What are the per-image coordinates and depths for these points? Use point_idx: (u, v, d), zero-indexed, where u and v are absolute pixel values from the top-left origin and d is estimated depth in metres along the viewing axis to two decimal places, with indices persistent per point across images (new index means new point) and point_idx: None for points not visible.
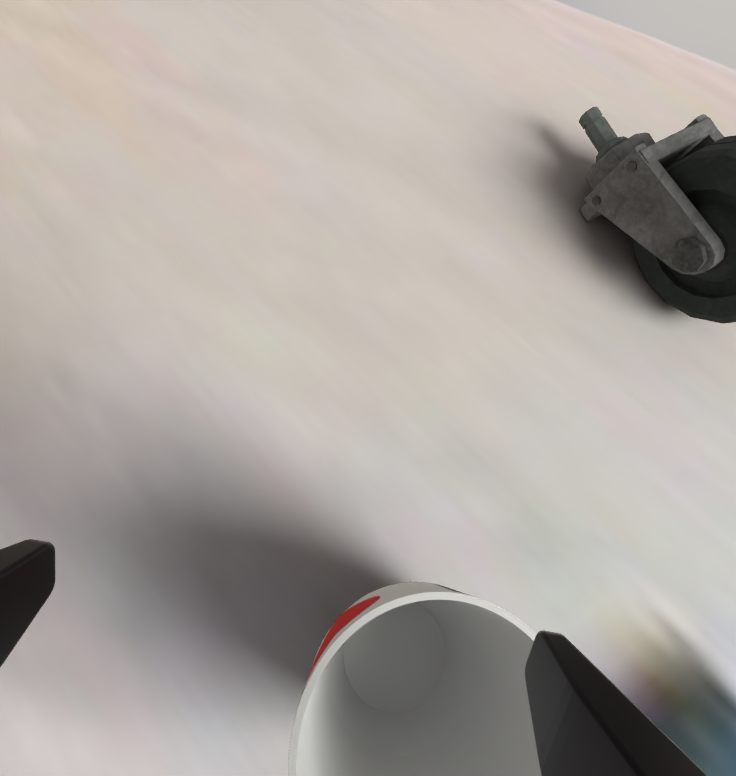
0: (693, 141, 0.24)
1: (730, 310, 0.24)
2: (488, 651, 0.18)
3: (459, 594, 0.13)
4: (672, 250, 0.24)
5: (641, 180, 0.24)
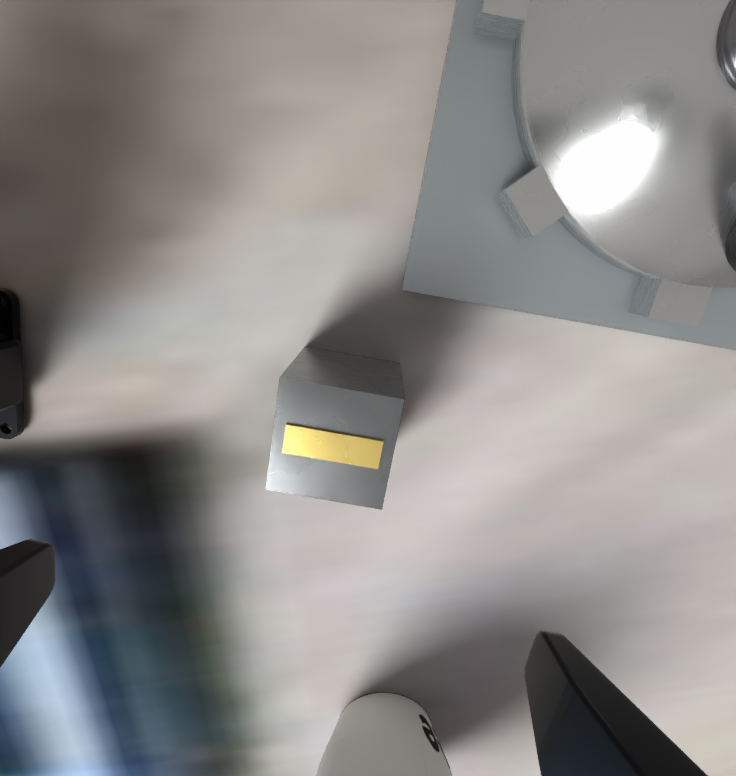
0: None
1: None
2: None
3: None
4: None
5: None
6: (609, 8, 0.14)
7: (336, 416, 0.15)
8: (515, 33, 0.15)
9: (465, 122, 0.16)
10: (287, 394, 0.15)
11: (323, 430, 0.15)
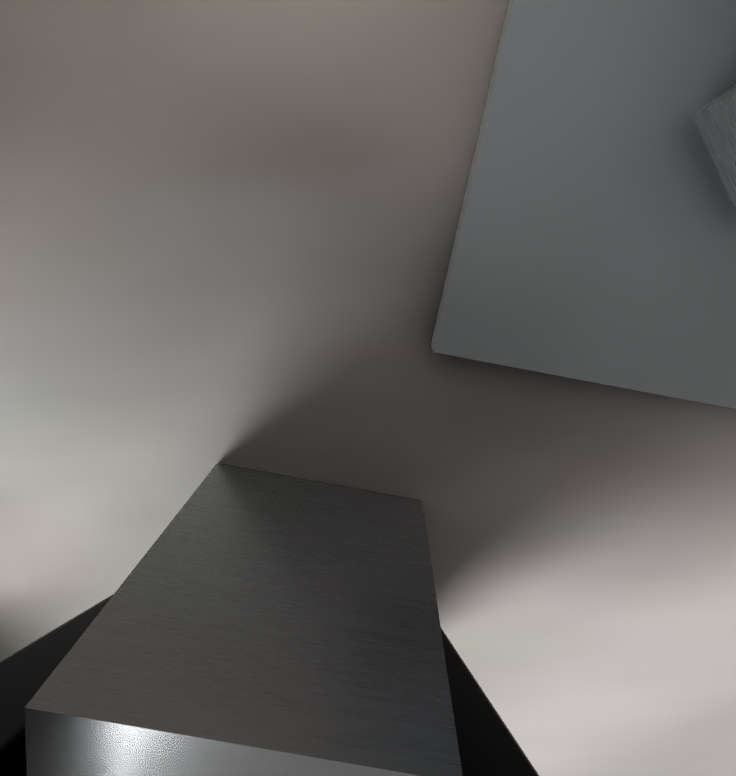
0: None
1: None
2: None
3: None
4: None
5: None
6: None
7: None
8: None
9: None
10: (59, 754, 0.04)
11: None
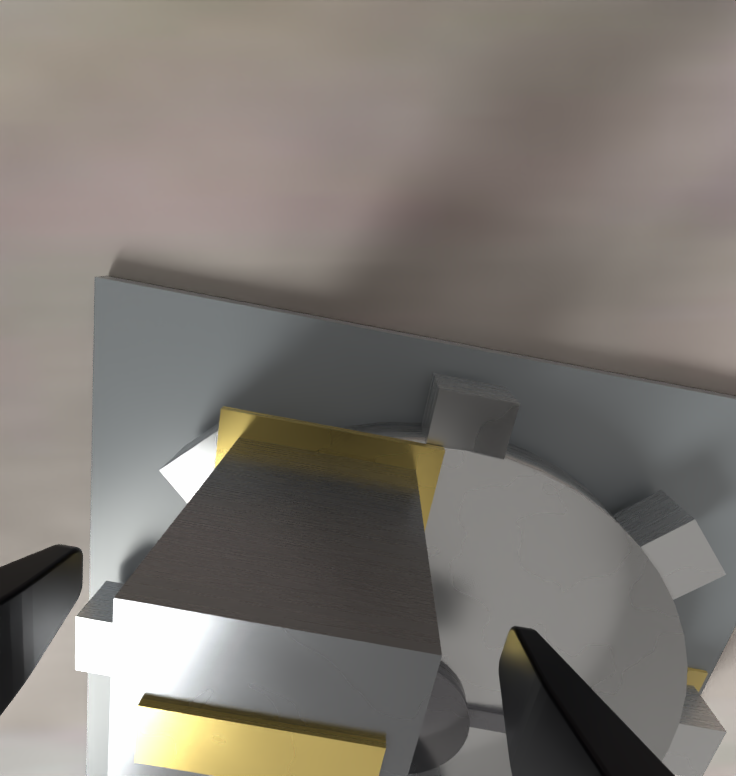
0: None
1: None
2: None
3: None
4: None
5: None
6: None
7: (267, 686, 0.06)
8: None
9: None
10: (138, 636, 0.06)
11: (235, 717, 0.06)
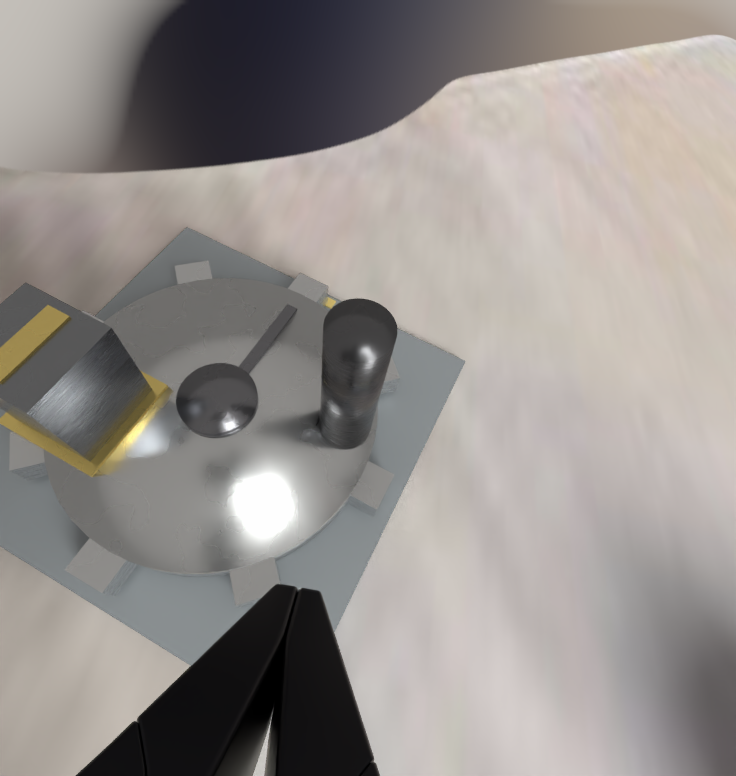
0: None
1: None
2: None
3: None
4: None
5: None
6: (151, 500, 0.20)
7: (2, 331, 0.17)
8: (132, 565, 0.19)
9: (175, 618, 0.19)
10: None
11: (6, 344, 0.17)
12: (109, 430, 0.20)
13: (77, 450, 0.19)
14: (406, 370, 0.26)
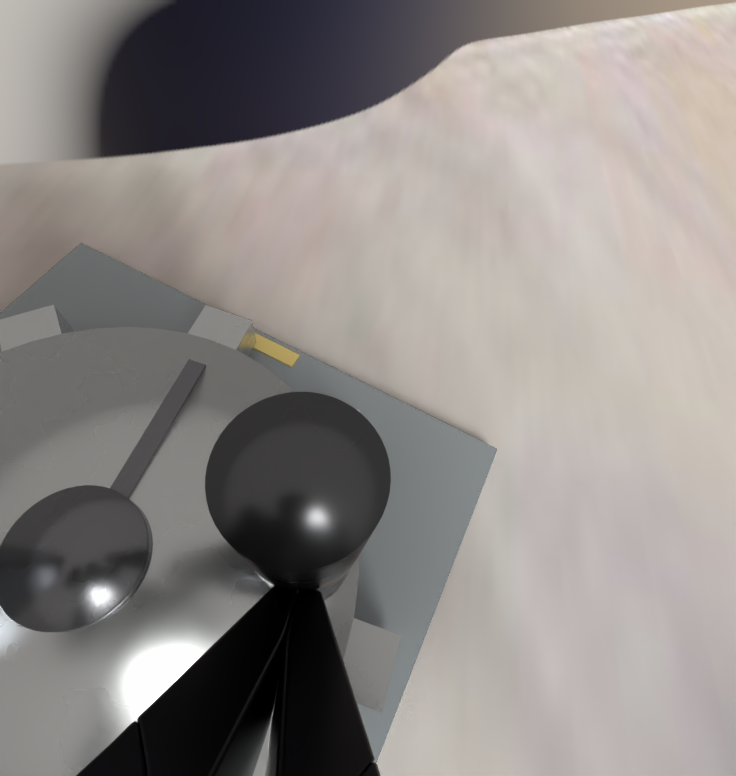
0: None
1: None
2: None
3: None
4: None
5: None
6: None
7: None
8: None
9: None
10: None
11: None
12: None
13: None
14: (406, 468, 0.17)
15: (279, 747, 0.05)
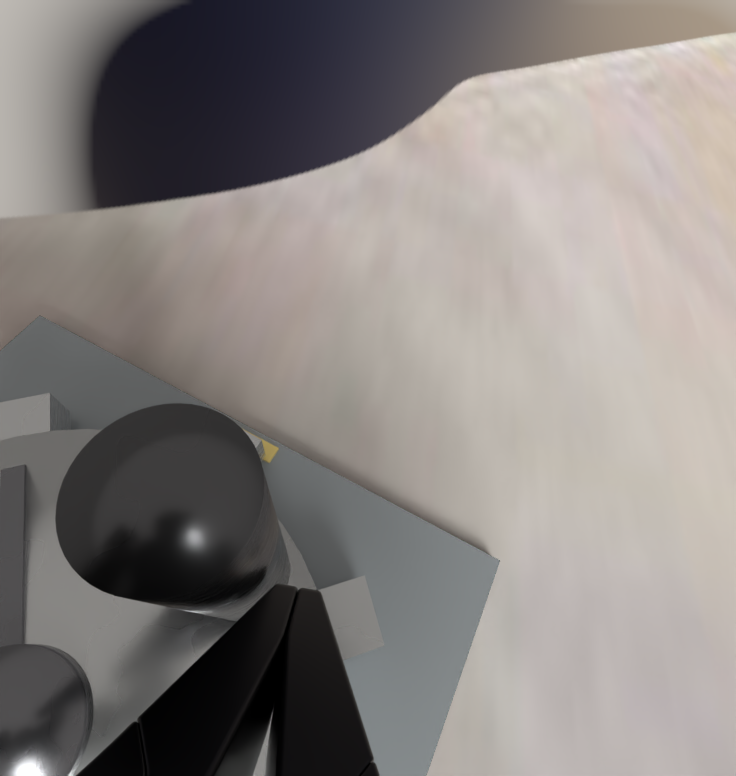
0: None
1: None
2: None
3: None
4: None
5: None
6: None
7: None
8: None
9: None
10: None
11: None
12: None
13: None
14: (397, 587, 0.15)
15: (278, 747, 0.05)
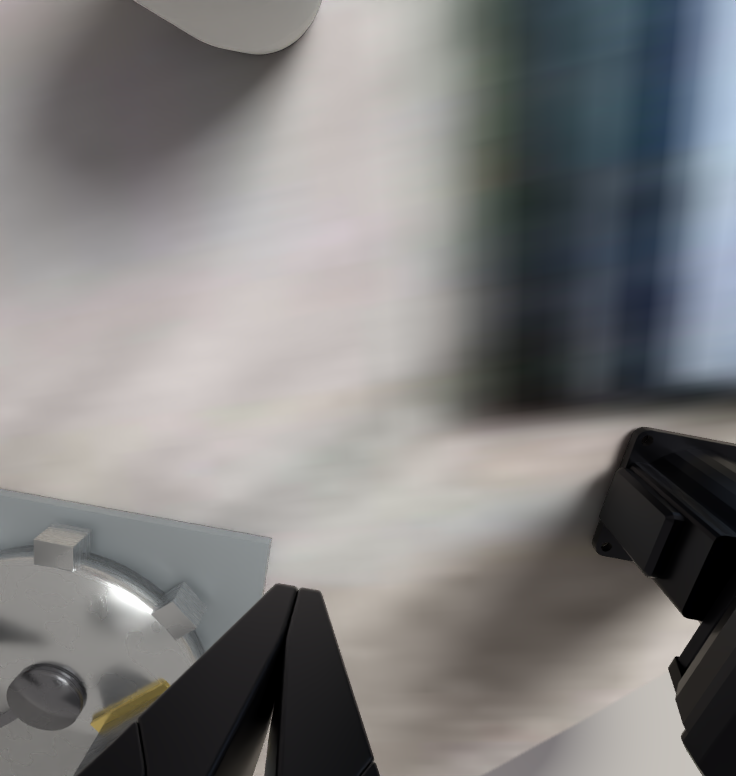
0: None
1: None
2: None
3: None
4: None
5: None
6: (122, 645, 0.23)
7: None
8: (160, 599, 0.23)
9: None
10: None
11: None
12: (135, 714, 0.23)
13: None
14: None
15: (278, 747, 0.05)
